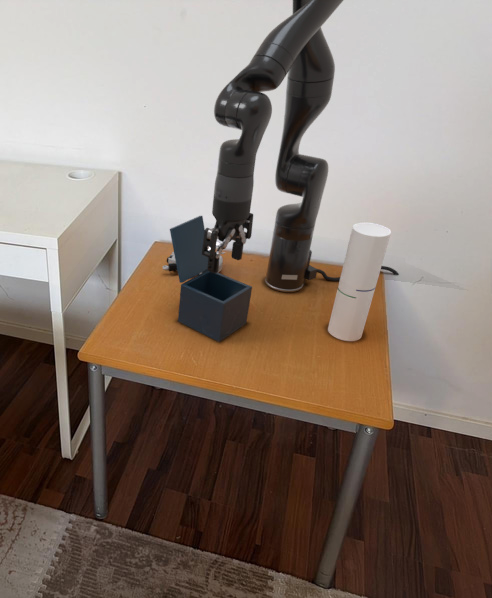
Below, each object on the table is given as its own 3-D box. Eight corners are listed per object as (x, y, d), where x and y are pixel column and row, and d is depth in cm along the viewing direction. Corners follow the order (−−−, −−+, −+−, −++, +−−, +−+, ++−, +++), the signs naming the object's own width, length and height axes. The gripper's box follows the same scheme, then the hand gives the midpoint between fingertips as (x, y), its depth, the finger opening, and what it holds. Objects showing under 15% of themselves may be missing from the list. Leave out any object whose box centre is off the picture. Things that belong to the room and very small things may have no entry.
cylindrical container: (364, 342, 125) (394, 237, 112) (330, 339, 126) (356, 235, 113) (358, 325, 131) (386, 223, 118) (325, 321, 132) (349, 221, 119)
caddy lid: (202, 215, 130) (199, 215, 130) (172, 228, 123) (169, 228, 124) (211, 267, 133) (208, 267, 134) (182, 282, 127) (179, 282, 128)
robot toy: (160, 279, 152) (216, 285, 146) (159, 263, 149) (217, 269, 144) (173, 259, 161) (226, 265, 156) (172, 245, 159) (227, 250, 154)
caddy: (246, 323, 131) (252, 286, 126) (219, 342, 125) (223, 303, 120) (205, 304, 139) (209, 269, 134) (177, 321, 132) (180, 284, 127)
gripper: (227, 208, 108) (219, 283, 117) (268, 189, 117) (258, 260, 125) (195, 198, 113) (190, 270, 122) (237, 180, 121) (229, 249, 130)
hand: (224, 265), depth 123 cm, fingers open, 8 cm apart
